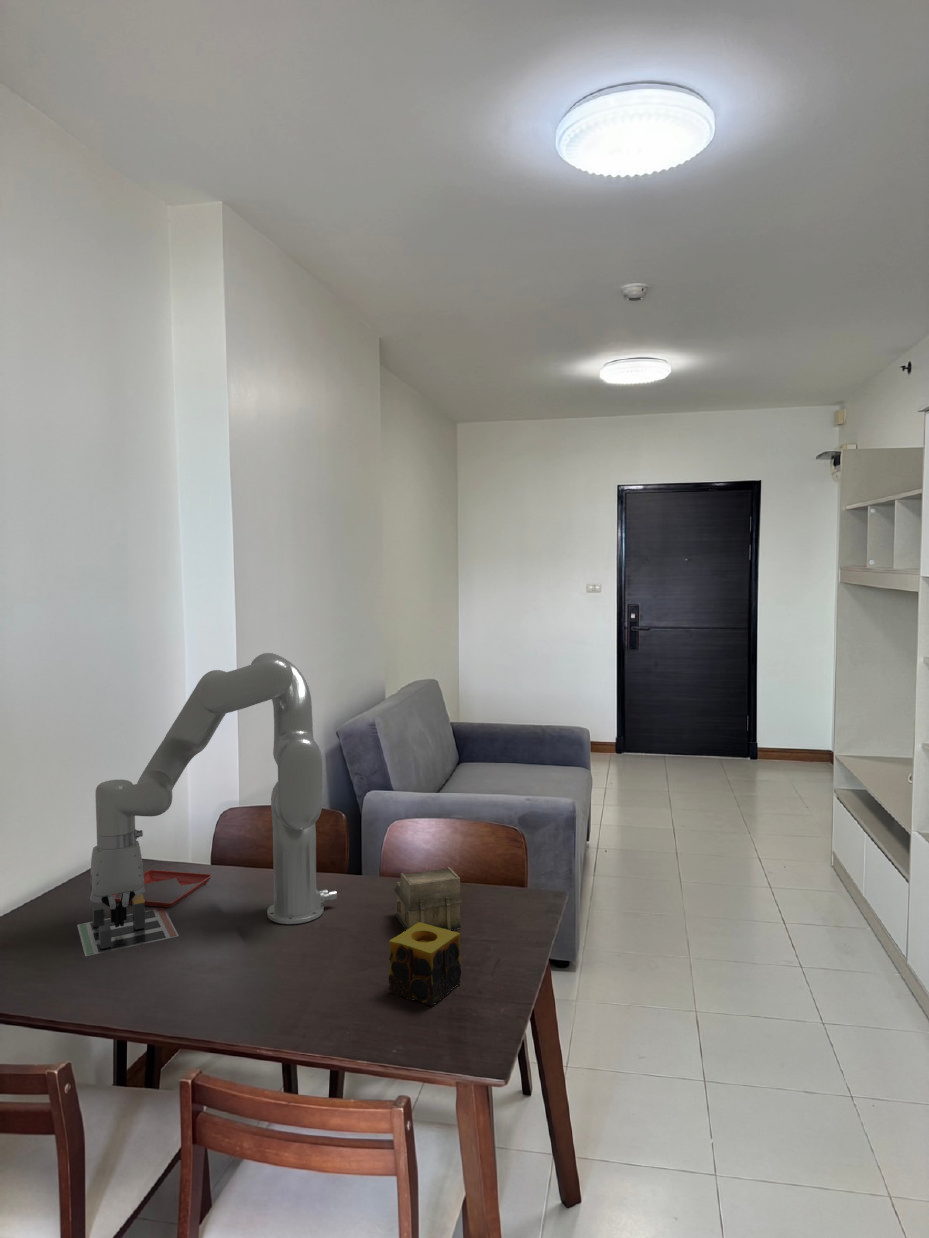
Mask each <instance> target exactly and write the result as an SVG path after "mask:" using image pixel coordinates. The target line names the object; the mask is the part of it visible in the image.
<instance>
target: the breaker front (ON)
mask: <svg viewBox="0 0 929 1238" xmlns="http://www.w3.org/2000/svg"><path fill="white" fill-rule="evenodd" d="M99 944H100V948H101V949H103V948H107V947H112V946H111V928H110V925H109V924H108V925H103V926H99Z"/></svg>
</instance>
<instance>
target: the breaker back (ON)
mask: <svg viewBox="0 0 929 1238" xmlns="http://www.w3.org/2000/svg"><path fill="white" fill-rule="evenodd" d="M103 905H104V904H103V903H100V904H95V905H92V906H91V909H92V910H91V914H92V915H91V916H92V922H93V924H94V927H95V926H100V925H104V919H105V911H104V910H105V908H104V906H103Z"/></svg>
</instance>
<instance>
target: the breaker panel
mask: <svg viewBox="0 0 929 1238" xmlns="http://www.w3.org/2000/svg"><path fill="white" fill-rule="evenodd" d="M108 924H109V925H110V928H111V946H112V947H107V948H103V949H101V948H100V944H99V926H95V927H94V924H93V921H89V922H85V923H84V922H83V923H79V924H77V926H76V927H77V930H78V934H79V937H80V942H81V946H82V950H83V953H84V957H90V956H93V955H98V954H104V953H109V952H114V951H117V950H122V949H127V948H130V947H131V948H132V947H135V946H139V945H140V946H141V945H144V944H149V943H153V942H159V941H163V940H169V939H172V938H176V937H179V936H180V935H179V934H178V931H177V929H176V928H175V926H174V924H173V921H172V920H171V918H170V916H169V914H168V913H167V910H166V909H165V907H159V908H154V909H150V910H145V928H141V929H136V930H135V928H134V926H133V913H130V914H127V920H124V926H120V924H119V926H118V927H115V924H114V922H113V923H111V917H108V918H104V925H108ZM100 926H103V925H100Z"/></svg>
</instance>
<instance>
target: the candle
mask: <svg viewBox="0 0 929 1238" xmlns="http://www.w3.org/2000/svg"><path fill="white" fill-rule="evenodd" d="M460 940H461V933H460V932H457V931H455V930H453V931H450V930H447V929H443V928H439V927H435V926H432V925H428V924H424V923H421V922H419V923H416V924H415V925H413V926H412V927H411V928H409V929H407V930H406V931H405V930H404V931H403V932H401V933H400V934H398V935H396V936H395V937H393V938H391V939H389V941H388V944H389V946H388V947H389V959H388V960H389V972H388V973H389V975H388V991H389V993H391V994H393V993H394V994H393V995H396V996H399V995H400V996H399V997H401V996H403V997H402V998H404V997H406V998H405V999H407V998H408V999H407V1000H410V999H414V1000H419V1001H421V1002H420V1003H422V1002H423V1003H422V1004H424V1003H425V1004H424V1005H426V1004H428V1005H430V1006H429V1007H434V1006H435V1005H434V1003H437V1002H438V1001H439V1002H440V999H442V998H443V997H444V996H446V995H447V996H448V994H447V993H448V992H450V991H451V989H453V987H455V986H456V985H459V986H460V984H461V977H462V969H461V967H462V963H461V950H460V947H461V943H460V942H461V941H460ZM459 983H460V984H459ZM453 990H454V989H453ZM451 992H452V991H451ZM451 992H450V993H451ZM447 996H446V997H447ZM444 998H445V997H444ZM444 998H443V999H444ZM443 999H442V1000H443ZM414 1000H413V1001H414ZM419 1001H418V1002H419ZM439 1002H438V1003H439ZM438 1003H437V1004H438ZM428 1005H427V1006H428ZM433 1005H434V1006H433Z"/></svg>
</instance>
